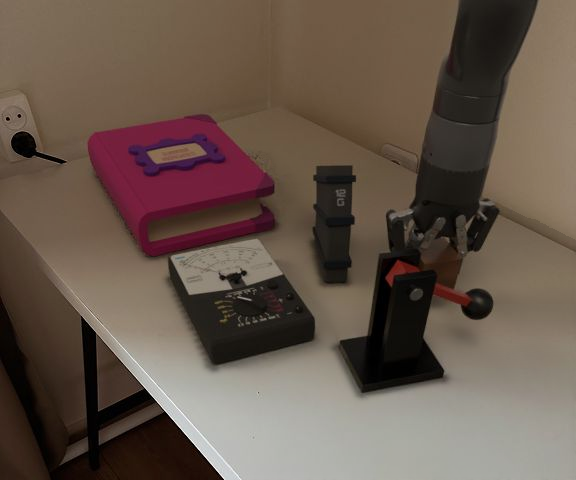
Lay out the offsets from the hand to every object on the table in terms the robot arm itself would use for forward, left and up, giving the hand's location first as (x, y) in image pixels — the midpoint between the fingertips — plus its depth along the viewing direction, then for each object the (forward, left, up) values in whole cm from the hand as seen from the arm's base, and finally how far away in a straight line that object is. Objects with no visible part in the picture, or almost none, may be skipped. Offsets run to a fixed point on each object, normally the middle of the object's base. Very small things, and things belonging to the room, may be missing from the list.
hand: (428, 280), depth 81 cm
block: (0, 0, 0) cm, 0 cm away
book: (+27, -34, -4) cm, 44 cm away
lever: (+5, +10, +4) cm, 12 cm away
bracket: (+9, +10, -3) cm, 14 cm away
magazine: (+9, -13, -4) cm, 16 cm away
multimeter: (+24, -5, -4) cm, 25 cm away
